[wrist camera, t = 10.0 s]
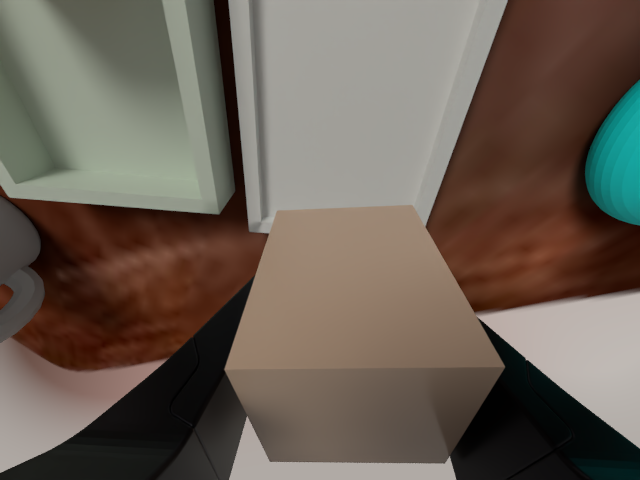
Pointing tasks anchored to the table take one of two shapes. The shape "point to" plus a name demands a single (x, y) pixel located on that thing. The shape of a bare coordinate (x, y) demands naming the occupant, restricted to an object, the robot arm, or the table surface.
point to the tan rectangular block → (358, 341)
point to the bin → (114, 104)
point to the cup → (18, 269)
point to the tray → (353, 98)
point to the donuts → (617, 161)
